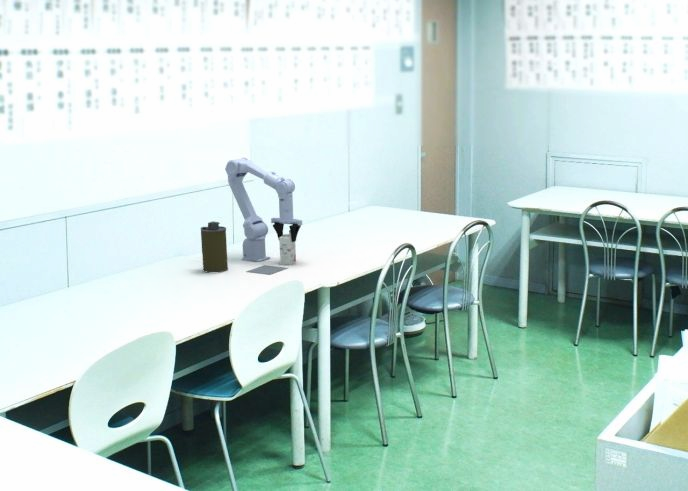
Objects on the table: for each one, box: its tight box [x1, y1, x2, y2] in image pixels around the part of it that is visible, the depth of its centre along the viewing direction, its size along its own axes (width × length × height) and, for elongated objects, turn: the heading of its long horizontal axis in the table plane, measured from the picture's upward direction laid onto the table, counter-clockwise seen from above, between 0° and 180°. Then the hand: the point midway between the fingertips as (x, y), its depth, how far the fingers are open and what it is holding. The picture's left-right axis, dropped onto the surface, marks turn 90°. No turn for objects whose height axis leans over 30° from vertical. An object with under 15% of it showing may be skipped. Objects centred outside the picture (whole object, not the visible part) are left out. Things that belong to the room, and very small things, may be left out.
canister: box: [200, 221, 229, 273], centre depth 405 cm, size 11×10×20 cm
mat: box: [245, 264, 289, 276], centre depth 405 cm, size 12×13×1 cm
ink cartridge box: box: [278, 229, 297, 266], centre depth 416 cm, size 9×5×15 cm, turn 168°
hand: (287, 240), depth 415 cm, fingers closed on ink cartridge box, 6 cm apart
